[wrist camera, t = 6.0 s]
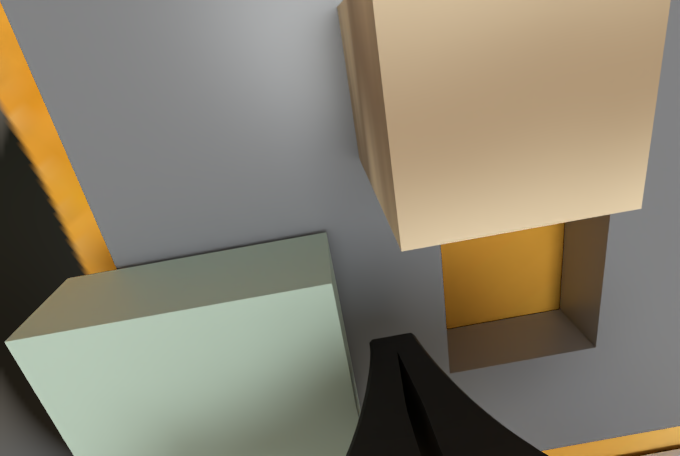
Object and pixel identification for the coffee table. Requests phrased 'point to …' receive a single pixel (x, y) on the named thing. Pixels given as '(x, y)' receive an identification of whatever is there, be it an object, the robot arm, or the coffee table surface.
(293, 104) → the pin board
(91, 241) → the coffee table surface
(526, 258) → the coffee table surface
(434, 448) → the robot arm
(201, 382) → the pale green square block
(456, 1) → the peg
